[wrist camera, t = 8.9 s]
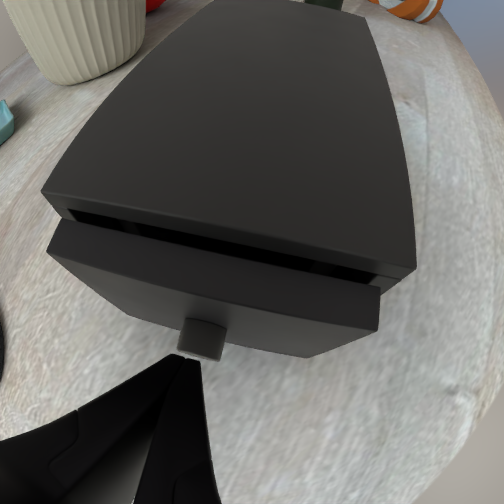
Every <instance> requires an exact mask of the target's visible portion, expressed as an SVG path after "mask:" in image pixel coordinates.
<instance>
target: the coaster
mask: <svg viewBox="0 0 504 504" xmlns="http://www.w3.org/2000/svg"><path fill="white" fill-rule="evenodd" d="M3 360H4V343H3V333H2V327H1V322H0V380H1V375H2V369H3Z"/></svg>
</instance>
